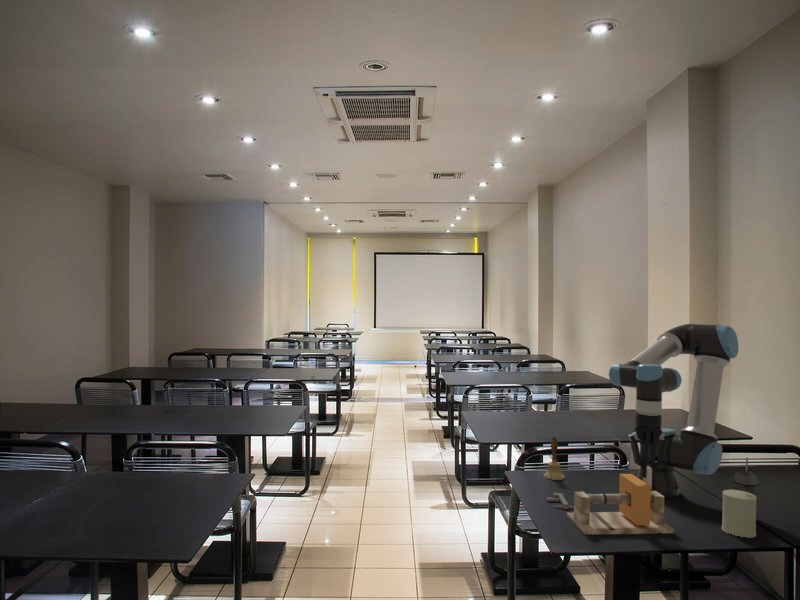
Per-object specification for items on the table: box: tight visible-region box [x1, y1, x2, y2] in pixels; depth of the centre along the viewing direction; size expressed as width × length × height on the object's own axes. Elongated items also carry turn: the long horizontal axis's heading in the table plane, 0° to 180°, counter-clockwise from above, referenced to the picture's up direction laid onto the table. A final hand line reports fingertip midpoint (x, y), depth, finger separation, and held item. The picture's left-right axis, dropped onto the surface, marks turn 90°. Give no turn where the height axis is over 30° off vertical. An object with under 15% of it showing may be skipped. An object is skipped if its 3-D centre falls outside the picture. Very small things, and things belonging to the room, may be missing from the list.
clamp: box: [546, 492, 574, 510], centre depth 195 cm, size 15×2×10 cm
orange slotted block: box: [618, 473, 650, 525], centre depth 180 cm, size 4×12×12 cm, turn 4°
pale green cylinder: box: [721, 489, 757, 539], centre depth 175 cm, size 9×9×12 cm
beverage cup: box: [732, 457, 760, 497], centre depth 187 cm, size 7×7×20 cm
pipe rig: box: [565, 491, 675, 536], centre depth 179 cm, size 28×15×10 cm, turn 94°
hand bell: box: [543, 436, 566, 481], centre depth 226 cm, size 8×8×16 cm
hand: (647, 487), depth 180 cm, fingers closed
